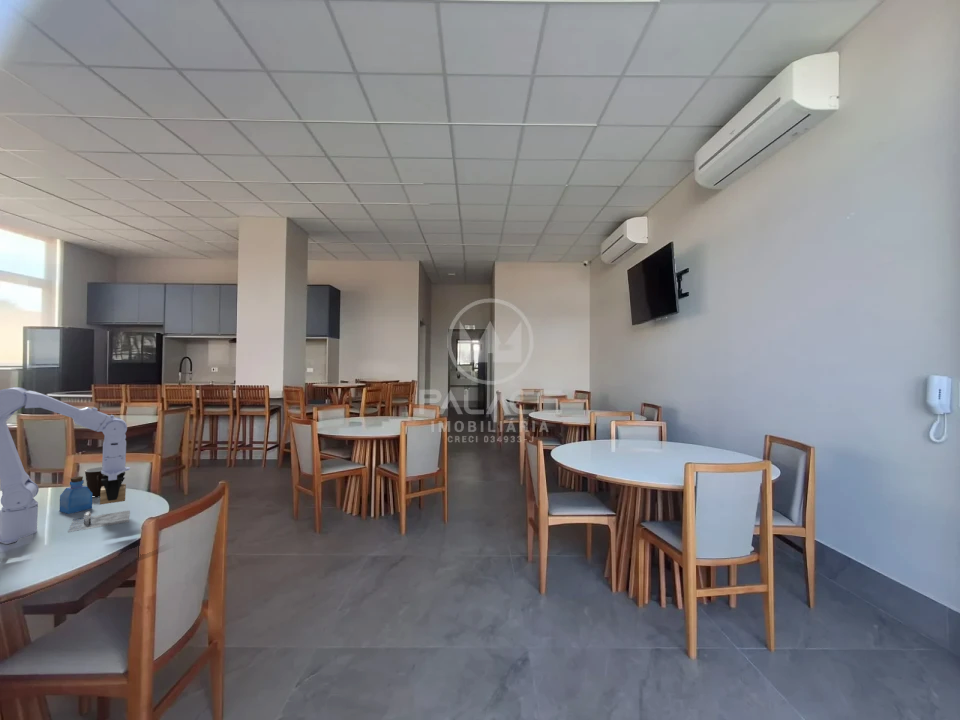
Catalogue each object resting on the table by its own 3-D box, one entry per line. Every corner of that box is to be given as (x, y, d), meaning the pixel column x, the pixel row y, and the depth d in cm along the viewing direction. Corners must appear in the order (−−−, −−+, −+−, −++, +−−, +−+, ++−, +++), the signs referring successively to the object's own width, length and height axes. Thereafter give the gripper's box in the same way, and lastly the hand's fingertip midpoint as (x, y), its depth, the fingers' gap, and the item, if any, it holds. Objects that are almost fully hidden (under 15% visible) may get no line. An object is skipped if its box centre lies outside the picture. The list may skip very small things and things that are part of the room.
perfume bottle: (91, 511, 144) (92, 476, 145) (68, 517, 139) (69, 481, 139) (82, 508, 147) (83, 474, 147) (59, 513, 141) (60, 478, 142)
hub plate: (67, 535, 124) (67, 522, 124) (73, 522, 134) (73, 510, 134) (128, 524, 133) (129, 512, 133) (129, 513, 143) (130, 501, 143)
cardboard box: (124, 500, 135) (125, 486, 135) (100, 504, 131) (100, 489, 132) (125, 497, 139) (125, 483, 139) (101, 500, 135) (101, 485, 135)
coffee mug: (94, 491, 166) (95, 466, 166) (119, 491, 167) (120, 466, 167) (71, 501, 154) (72, 474, 154) (98, 500, 156) (99, 473, 156)
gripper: (129, 458, 132) (128, 501, 132) (130, 450, 144) (129, 490, 143) (99, 461, 128) (98, 505, 128) (103, 453, 139) (101, 493, 139)
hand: (112, 497), depth 135 cm, fingers closed on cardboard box, 5 cm apart
